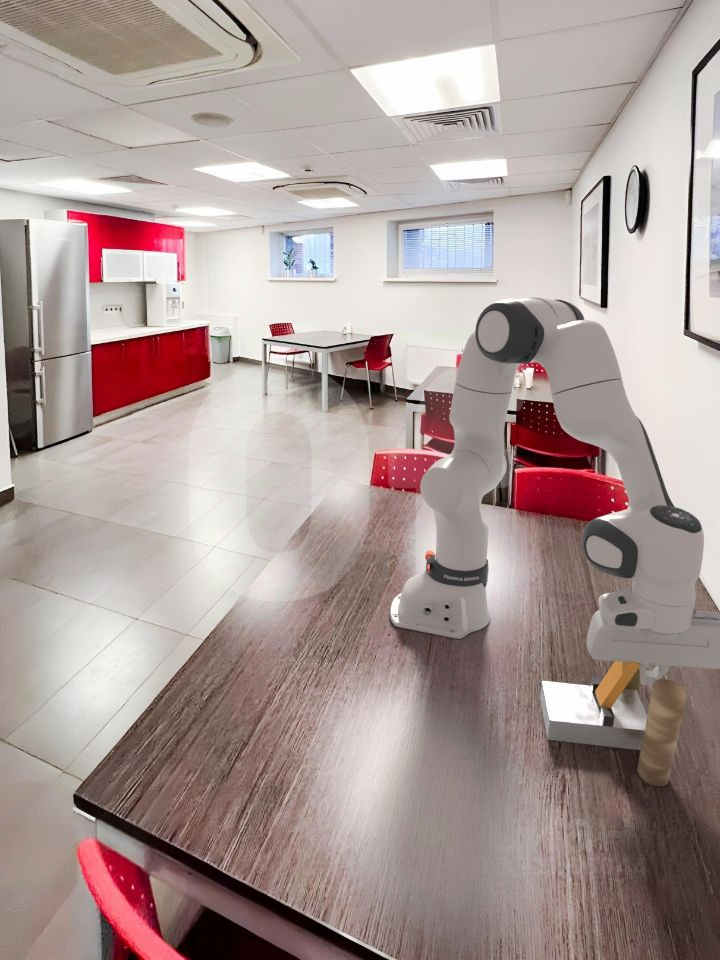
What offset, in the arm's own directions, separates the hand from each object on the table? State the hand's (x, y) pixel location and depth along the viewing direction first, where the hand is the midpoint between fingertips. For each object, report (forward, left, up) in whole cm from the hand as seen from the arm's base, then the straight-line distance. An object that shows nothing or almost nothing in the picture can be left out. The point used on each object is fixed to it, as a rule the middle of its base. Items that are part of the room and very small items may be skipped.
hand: (648, 683), depth 96 cm
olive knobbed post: (-1, +9, -10) cm, 13 cm away
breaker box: (-8, 0, -10) cm, 12 cm away
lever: (-7, 0, -5) cm, 8 cm away
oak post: (-1, -10, -10) cm, 14 cm away
